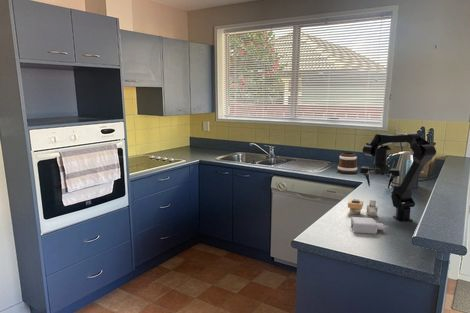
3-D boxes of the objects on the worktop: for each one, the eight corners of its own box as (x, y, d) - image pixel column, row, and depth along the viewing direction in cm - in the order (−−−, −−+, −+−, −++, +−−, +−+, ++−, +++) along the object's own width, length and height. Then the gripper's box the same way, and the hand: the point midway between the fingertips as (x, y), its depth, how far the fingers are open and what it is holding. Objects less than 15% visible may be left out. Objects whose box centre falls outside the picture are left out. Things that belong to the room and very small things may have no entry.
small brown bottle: (361, 212, 174) (361, 199, 173) (359, 215, 169) (360, 202, 168) (350, 210, 176) (351, 198, 175) (348, 213, 172) (349, 200, 171)
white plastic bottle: (390, 235, 145) (354, 233, 147) (384, 227, 154) (350, 225, 156) (391, 225, 144) (354, 223, 147) (385, 218, 153) (351, 216, 156)
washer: (363, 205, 174) (363, 201, 173) (361, 209, 168) (361, 204, 168) (349, 203, 177) (349, 199, 176) (347, 207, 171) (348, 202, 170)
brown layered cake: (358, 174, 259) (359, 155, 257) (338, 173, 262) (339, 154, 260) (355, 169, 278) (356, 151, 276) (336, 168, 281) (336, 150, 279)
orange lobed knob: (377, 214, 171) (378, 200, 170) (377, 217, 166) (378, 203, 165) (366, 212, 173) (367, 198, 172) (366, 216, 168) (366, 201, 167)
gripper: (360, 159, 171) (358, 189, 174) (401, 161, 163) (398, 193, 166) (361, 155, 181) (360, 184, 184) (400, 158, 173) (398, 187, 176)
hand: (378, 187), depth 177 cm, fingers open, 9 cm apart
